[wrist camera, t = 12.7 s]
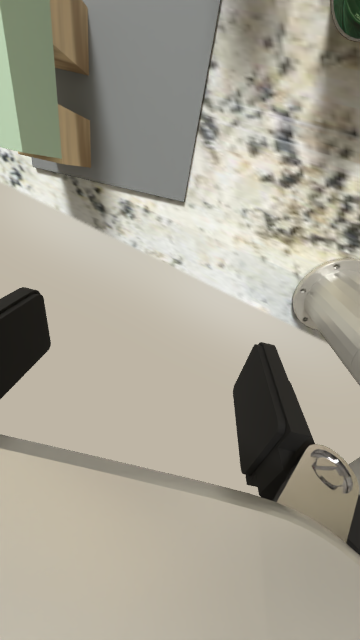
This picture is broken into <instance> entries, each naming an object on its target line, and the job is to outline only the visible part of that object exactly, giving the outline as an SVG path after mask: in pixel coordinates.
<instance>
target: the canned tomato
mask: <svg viewBox="0 0 360 640" xmlns="http://www.w3.org/2000/svg"><path fill="white" fill-rule="evenodd" d="M331 10H332V15H333V20H334V23H335V25H336V27H337V29H338V31H339V32H340V33H341V34H342V35H343V36H344V37H346V38H347V39H349V40H352V41H360V0H331Z"/></svg>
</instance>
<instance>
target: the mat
mask: <svg viewBox="0 0 360 640" xmlns="http://www.w3.org/2000/svg"><path fill="white" fill-rule="evenodd" d="M82 1H83V2H84V3H85V5H86V6H87V8H88V52H89V76H88V75H84V74H80V73H75V72H71V71H67V70H62V69H58V68H55V76H56V89H57V102H58V104H59V105H61V106H63V107H65V108H67V109H69V110H70V111H72V112H74V113H76V114H78V115H80V116H82V117H84V118H86V119H88V120H90V145H91V168H89V167H81V166H73V165H65V164H60V163H55V162H51V161H47V160H42V159H38V158H34V157H32V164H33V167H36V168H40V169H44V170H49V171H53V172H57V173H62V174H66V175H70V176H74V177H79V178H83V179H87V180H92V181H96V182H100V183H105V184H109V185H113V186H118V187H122V188H126V189H130V190H135V191H139V192H143V193H148V194H152V195H156V196H161V197H165V198H169V199H174V200H178V201H182V202H184V200H185V194H186V189H187V183H188V178H189V172H190V167H191V161H192V156H193V150H194V145H195V139H196V134H197V128H198V123H199V117H200V112H201V106H202V101H203V95H204V90H205V84H206V79H207V73H208V67H209V62H210V56H211V51H212V45H213V40H214V34H215V29H216V23H217V18H218V12H219V7H220V1H221V0H82Z"/></svg>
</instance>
